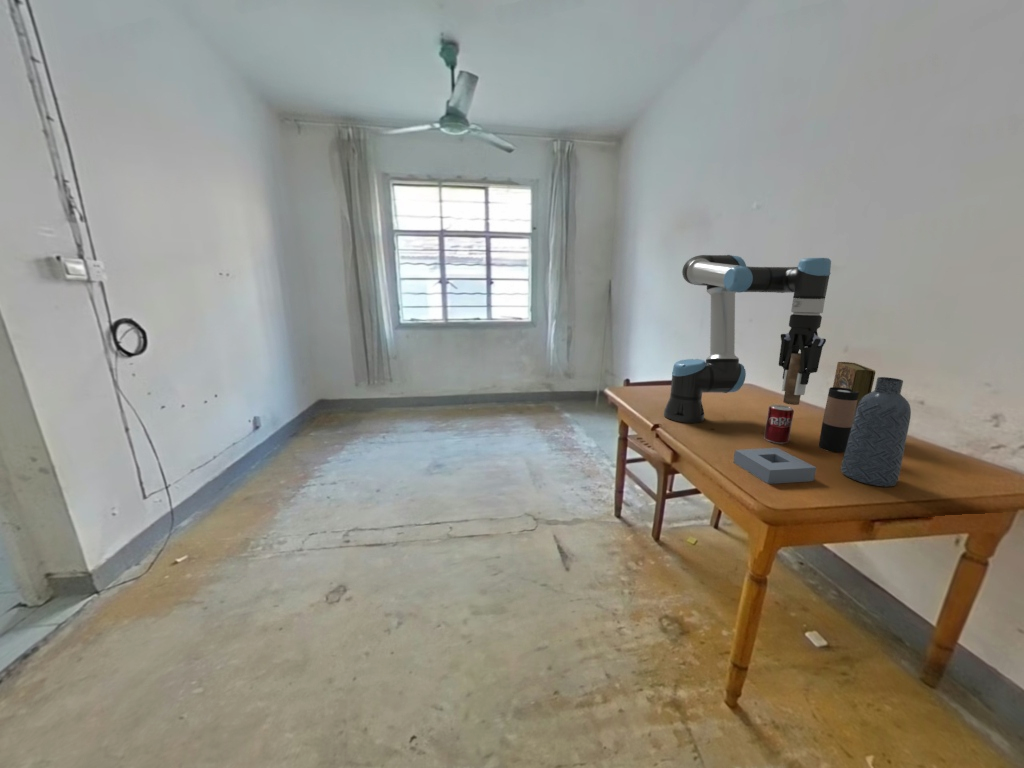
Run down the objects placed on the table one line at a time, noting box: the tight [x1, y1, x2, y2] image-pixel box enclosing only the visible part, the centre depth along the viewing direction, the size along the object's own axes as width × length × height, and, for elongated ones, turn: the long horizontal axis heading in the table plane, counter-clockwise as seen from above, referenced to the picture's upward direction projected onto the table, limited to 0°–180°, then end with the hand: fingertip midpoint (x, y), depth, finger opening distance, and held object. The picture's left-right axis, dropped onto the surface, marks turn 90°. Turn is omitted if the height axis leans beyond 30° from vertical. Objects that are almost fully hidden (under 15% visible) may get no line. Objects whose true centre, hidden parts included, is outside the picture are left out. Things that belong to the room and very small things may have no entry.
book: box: [832, 361, 876, 412], centre depth 147 cm, size 16×6×25 cm, turn 161°
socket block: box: [733, 447, 817, 485], centre depth 118 cm, size 14×14×4 cm
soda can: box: [763, 404, 795, 445], centre depth 141 cm, size 7×7×12 cm
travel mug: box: [818, 386, 859, 454], centre depth 133 cm, size 8×8×20 cm
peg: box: [782, 352, 802, 406], centre depth 123 cm, size 4×4×15 cm
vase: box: [840, 376, 912, 488], centre depth 112 cm, size 12×12×28 cm
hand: (792, 392), depth 124 cm, fingers closed on peg, 4 cm apart
